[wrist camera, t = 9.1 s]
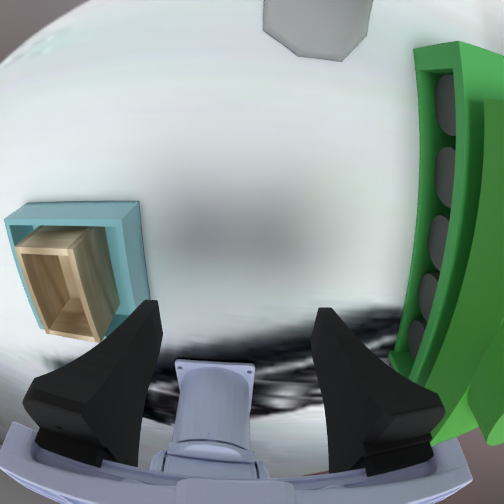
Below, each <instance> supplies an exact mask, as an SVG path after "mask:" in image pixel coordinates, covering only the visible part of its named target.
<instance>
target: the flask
mask: <svg viewBox="0 0 504 504" xmlns="http://www.w3.org/2000/svg"><path fill="white" fill-rule="evenodd" d="M372 4H373V0H264V17H263V30H264V31H265V32H267V33H268V34H270V35H271V36H272V37H274V38H275V39H277V40H278V41H279V42H281V43H282V44H283V45H285V46H286V47H287V48H289V49H290V50H291V51H293V52H294V53H295V54H296V55H298V56H302V57H311V58H319V59H327V60H334V61H340V62H342V61H343V60H344V59H345V58H346V57H347V56H348V55H349V54H350V52H351V51H352V50H353V49H354V48H355V47H356V46H357V45H358V44H359V43H360V42H361V41H362V40H363V39H364V38H365V37H366V36H367V32H368V24H369V17H370V13H371V8H372Z"/></svg>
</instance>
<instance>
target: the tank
mask: <svg viewBox="0 0 504 504" xmlns="http://www.w3.org/2000/svg"><path fill="white" fill-rule="evenodd" d="M413 52H414V60H415V70H416V80H417V92H418V106H419V131H420V167H419V192H418V207H417V219H416V229H415V239H414V247H413V255H412V262H411V269H410V275H409V281H408V287H407V292H406V298H405V303H404V308H403V313H402V318H401V322H400V327H399V331H398V335H397V339H396V343H395V347H394V350H392V351H389V355H388V358H389V360H390V362H391V364H392V367H393V369H394V370H395V371H396V372H398V373H399V374H401V375H402V376H404V377H406V378H407V379H409V380H411V381H413V382H414V383H416V384H418V385H420V386H422V387H424V388H426V389H429V390H431V391H433V392H435V393H438V395H439V397H440V399H441V401H442V403H443V405H444V408H445V411H446V412H445V415H444V417H443V419H442V420H441V421H440V422H439V424H438V425H437V426H436V427H435V428H434V429H433V430H432V431H431V432H430V433H431V436H432V440H431V441H429V442H430V444H431V447H432V446H434V445H436V444H438V443H440V442H443V441H446V440H449V439H452V438H455V437H457V436H459V435H461V434H463V433H466V432H468V431H470V430H472V429H474V428H476V427H478V426H479V427H480V429H481V431H482V434H483V436H484V438H485V440H486V443H487V444H488V445H498V444H500V443H503V442H504V56H502V55H500V54H497V53H494V52H492V51H489V50H486V49H483V48H480V47H477V46H474V45H471V44H468V43H464V42H461V41H454V42H448V43H442V44H437V45H432V46H427V47H422V48H417V49H413Z"/></svg>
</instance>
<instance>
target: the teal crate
mask: <svg viewBox="0 0 504 504" xmlns="http://www.w3.org/2000/svg"><path fill="white" fill-rule="evenodd" d="M4 222H5V226H6V230H7V234H8V238H9V242H10V246H11V249H12V253H13V256H14V259H15V263H16V266H17V269H18V272H19V275H20V278H21V281H22V284H23V287H24V290H25V292H26V295H27V298H28V300H29V303H30V305H31V308H32V310H33V313H34V315H35V318H36V320H37V322H38V325H39V327H40V329H44V327H43V325H42V322H41V320H40V318H39V315H38V313H37V311H36V308H35V306H34V303H33V301H32V298H31V295H30V293H29V290H28V287H27V285H26V282H25V279H24V276H23V273H22V270H21V267H20V264H19V261H18V258H17V254H16V251H15V246H16V245H17V244H18V243H19V242H20V241H22V240H23V239H24V238H25V237H26V236H28V235H29V234H30V233H31V232H32V231H34V230H35V229H36V228H37V227H39V226H40V225H54V226H105V230H106V236H107V242H108V248H109V253H110V258H111V263H112V268H113V273H114V278H115V282H116V287H117V291H118V295H119V300H120V305H119V307H118V309H117V311H116V313H115V315H114V317H113V319H112V321H111V323H110V325H109V327H108V329H107V331H106V333H105V335H104V338H103V340H104V339H105V338H106V337H107V336H108V335H110V334H111V333H112V332H113V331H114V330H115V329H116V328H117V327H118V326H119V325H120V324H121V323H122V322H123V321H124V320H125V319H126V318H127V317H128V316H129V315H130V314H131V313H132V312H133V311H134V310H135V309H136V308H137V307H138V306H139V305H140V304H141V303H142V302H143V301H144V300H150V294H149V287H148V280H147V273H146V266H145V258H144V249H143V240H142V231H141V220H140V209H139V201H72V202H38V203H27V204H25V205H24V206H22V207H21V208H19V209H18V210H16V211H15V212H13V213H12V214H11V215H9V216H8V217H6V218H5V219H4Z"/></svg>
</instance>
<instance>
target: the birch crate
mask: <svg viewBox="0 0 504 504" xmlns="http://www.w3.org/2000/svg"><path fill="white" fill-rule="evenodd" d="M15 251H16V254H17V258H18V261H19V264H20V267H21V270H22V273H23V276H24V279H25V282H26V285H27V287H28V290H29V293H30V295H31V298H32V301H33V303H34V306H35V308H36V311H37V313H38V315H39V318H40V320H41V322H42V325H43V327H44V329H45V331H46V333H47V334H52V335H58V336H63V337H68V338H74V339H80V340H86V341H92V342H98V343H100V342H102V340H103V338H104V335H105V333H106V331H107V329H108V327H109V325H110V323H111V321H112V319H113V317H114V315H115V313H116V311H117V309H118V307H119V305H120V300H119V295H118V291H117V287H116V282H115V278H114V273H113V268H112V263H111V258H110V253H109V248H108V242H107V236H106V230H105V226H54V225H40V226H39V227H37V228H36V229H35V230H34V231H32V232H31V233H30V234H29V235H28V236H26V237H25V238H24V239H23V240H22V241H20V242H19V243H18V244H17V245H16V246H15Z"/></svg>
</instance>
